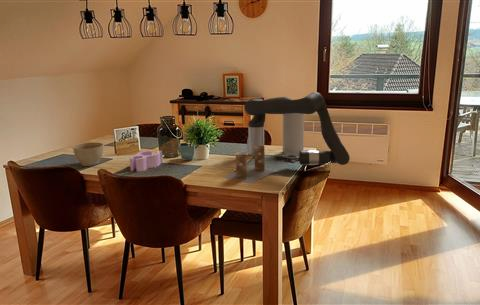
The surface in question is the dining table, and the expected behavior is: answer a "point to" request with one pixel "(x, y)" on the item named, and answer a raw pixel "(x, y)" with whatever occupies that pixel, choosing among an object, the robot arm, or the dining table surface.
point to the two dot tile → (259, 158)
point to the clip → (145, 160)
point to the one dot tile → (241, 165)
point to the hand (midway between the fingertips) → (275, 157)
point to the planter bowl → (88, 153)
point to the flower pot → (186, 151)
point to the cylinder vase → (293, 133)
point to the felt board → (252, 174)
